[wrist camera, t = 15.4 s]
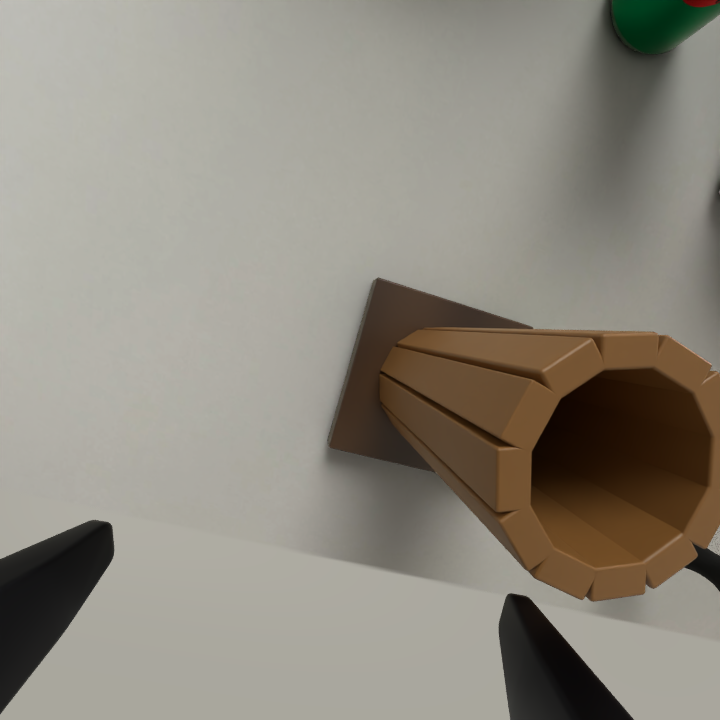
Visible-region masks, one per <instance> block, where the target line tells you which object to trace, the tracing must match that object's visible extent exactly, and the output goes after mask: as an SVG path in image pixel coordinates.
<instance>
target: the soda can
mask: <svg viewBox="0 0 720 720" xmlns="http://www.w3.org/2000/svg"><path fill="white" fill-rule="evenodd" d="M719 15H720V0H612V2H611V16H612V22H613V25H614V28H615V31H616V33H617V35H618V36H619V38H620V39H621V40H622V42H623V43H624V44H625V45H626V46H627V47H629V48H630V49H632V50H634V51H637V52H640V53H645V54H662V53H665V52H668V51H670V50H672V49H673V48H675V47H677V46H678V45H679V44H681V43H682V42H683V41H685V40H686V39H687V38H689V37H690V36H691V35H693V34H694V33H696V32H697V31H698V30H700V29H701V28H702V27H704V26H705V25H706V24H708V23H709V22H710V21H712V20H713V19H715V18H716V17H717V16H719Z"/></svg>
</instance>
